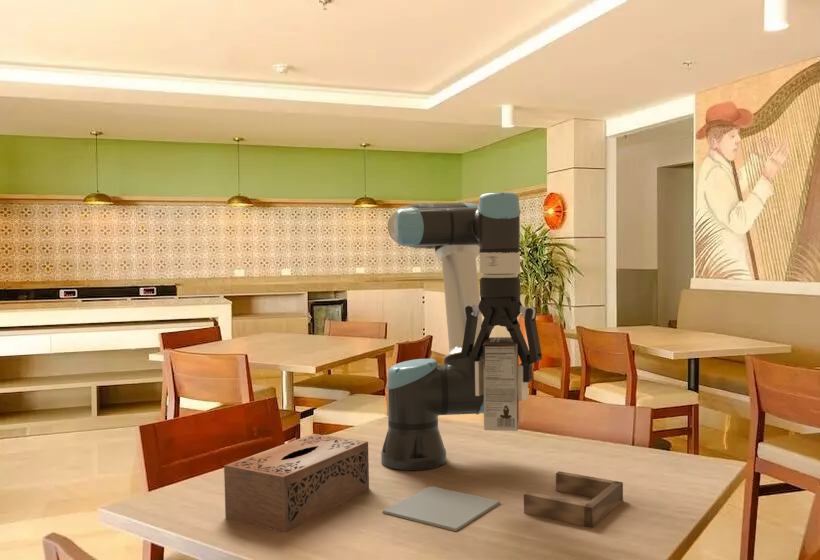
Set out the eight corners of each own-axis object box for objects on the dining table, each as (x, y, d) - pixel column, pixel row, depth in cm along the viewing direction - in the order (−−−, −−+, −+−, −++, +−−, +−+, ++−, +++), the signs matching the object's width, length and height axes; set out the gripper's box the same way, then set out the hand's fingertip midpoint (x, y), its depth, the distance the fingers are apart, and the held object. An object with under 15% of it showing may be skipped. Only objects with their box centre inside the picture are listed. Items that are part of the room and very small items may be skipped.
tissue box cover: (285, 533, 119) (283, 476, 119) (225, 519, 126) (224, 465, 126) (369, 489, 141) (368, 441, 141) (314, 479, 149) (313, 433, 148)
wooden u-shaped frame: (524, 512, 126) (523, 494, 126) (559, 488, 139) (558, 471, 139) (592, 527, 118) (592, 507, 118) (622, 500, 131) (622, 482, 131)
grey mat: (382, 512, 127) (382, 510, 127) (430, 488, 140) (430, 486, 140) (456, 531, 118) (456, 528, 118) (500, 503, 131) (500, 500, 131)
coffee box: (486, 418, 134) (485, 336, 133) (519, 419, 133) (518, 336, 132) (483, 430, 125) (482, 343, 124) (519, 431, 124) (518, 343, 123)
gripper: (441, 276, 130) (443, 395, 131) (545, 277, 119) (546, 407, 120) (460, 274, 137) (461, 388, 138) (560, 275, 125) (561, 398, 126)
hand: (501, 396), depth 129 cm, fingers closed on coffee box, 8 cm apart
